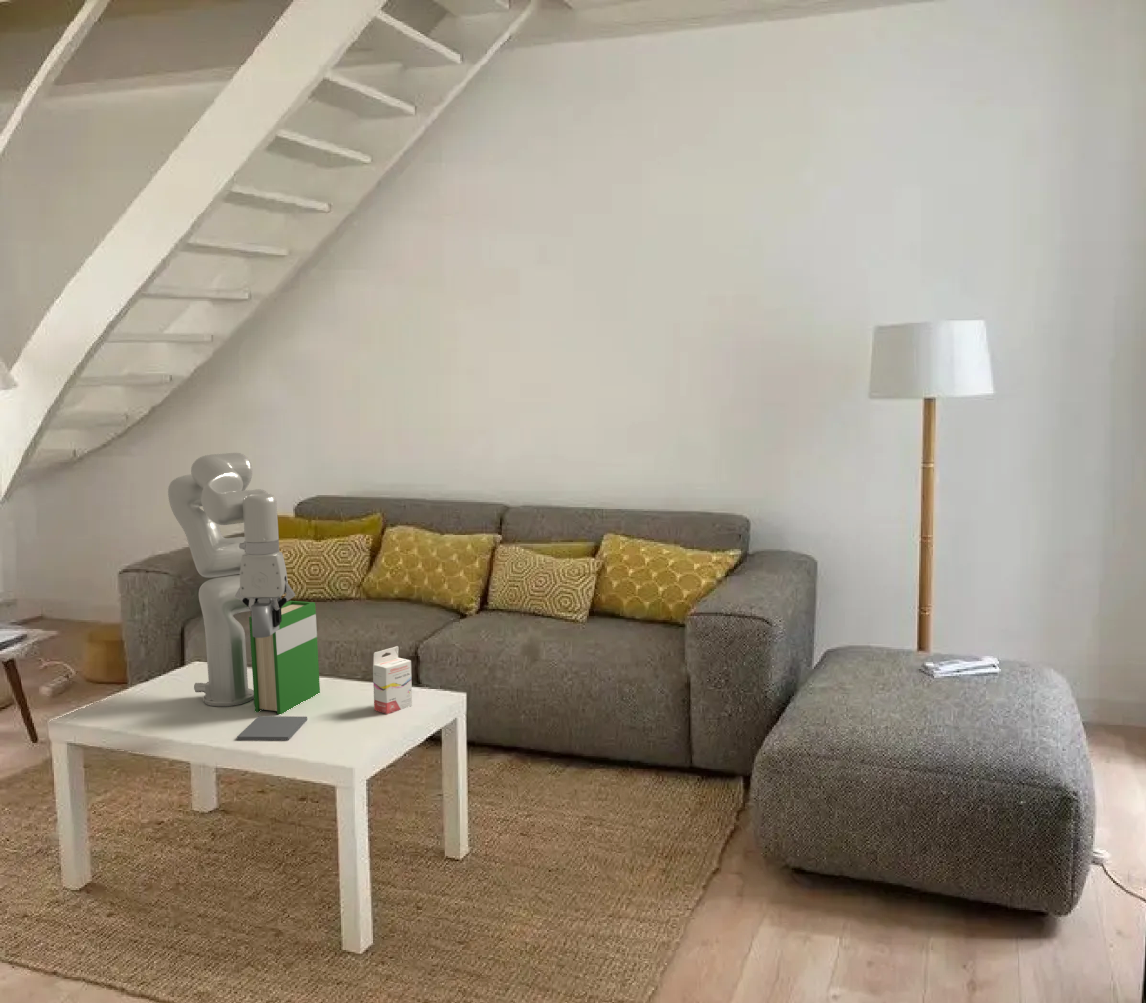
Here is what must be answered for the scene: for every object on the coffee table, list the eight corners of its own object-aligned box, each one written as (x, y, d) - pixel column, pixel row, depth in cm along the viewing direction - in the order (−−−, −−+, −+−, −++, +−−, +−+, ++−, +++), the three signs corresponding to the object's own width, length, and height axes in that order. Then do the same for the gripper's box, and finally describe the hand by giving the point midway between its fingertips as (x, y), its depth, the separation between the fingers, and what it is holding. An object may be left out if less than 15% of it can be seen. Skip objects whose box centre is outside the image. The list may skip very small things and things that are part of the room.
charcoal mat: (237, 739, 262) (237, 736, 262) (258, 719, 276) (258, 716, 276) (288, 740, 261) (288, 737, 261) (307, 719, 275) (307, 716, 275)
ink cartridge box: (387, 715, 277) (384, 656, 275) (373, 711, 281) (371, 652, 278) (413, 705, 284) (411, 648, 282) (400, 701, 287) (397, 645, 285)
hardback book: (280, 714, 279) (274, 619, 275) (254, 712, 281) (249, 617, 278) (320, 693, 295) (315, 602, 292) (295, 690, 298) (290, 600, 294)
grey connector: (250, 637, 260) (247, 598, 258) (265, 627, 269) (263, 589, 268) (267, 637, 259) (265, 598, 258) (281, 627, 269) (279, 589, 268)
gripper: (220, 551, 259) (225, 629, 262) (292, 551, 258) (297, 630, 260) (232, 545, 266) (237, 621, 269) (303, 544, 265) (307, 621, 268)
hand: (266, 624), depth 265 cm, fingers closed on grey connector, 4 cm apart
